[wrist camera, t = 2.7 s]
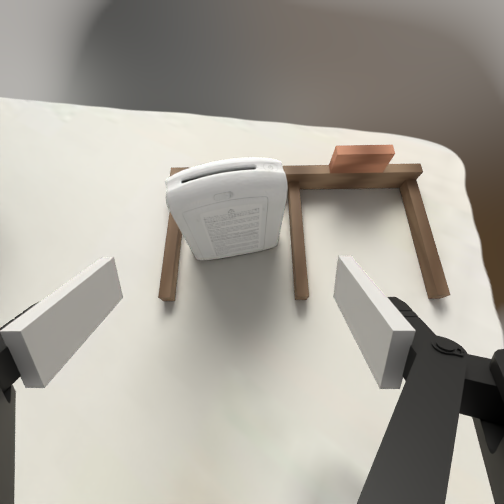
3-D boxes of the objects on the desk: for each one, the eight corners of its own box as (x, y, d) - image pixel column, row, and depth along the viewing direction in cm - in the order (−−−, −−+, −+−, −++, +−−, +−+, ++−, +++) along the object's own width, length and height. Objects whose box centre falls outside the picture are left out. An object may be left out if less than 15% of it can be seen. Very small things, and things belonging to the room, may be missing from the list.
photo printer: (274, 217, 32) (284, 136, 20) (283, 249, 30) (298, 180, 19) (189, 232, 31) (151, 158, 20) (193, 266, 30) (154, 206, 18)
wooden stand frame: (163, 300, 28) (140, 286, 23) (178, 183, 34) (162, 148, 28) (440, 298, 28) (485, 282, 22) (406, 179, 34) (436, 144, 28)
